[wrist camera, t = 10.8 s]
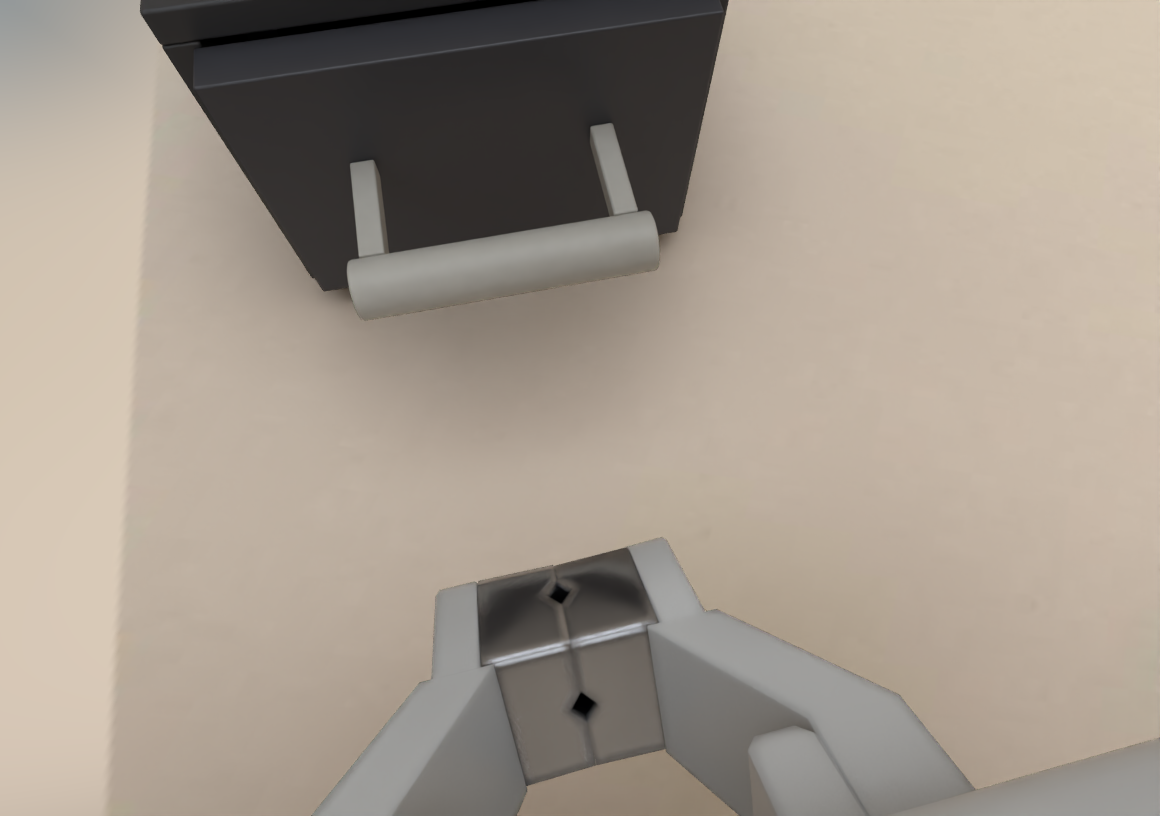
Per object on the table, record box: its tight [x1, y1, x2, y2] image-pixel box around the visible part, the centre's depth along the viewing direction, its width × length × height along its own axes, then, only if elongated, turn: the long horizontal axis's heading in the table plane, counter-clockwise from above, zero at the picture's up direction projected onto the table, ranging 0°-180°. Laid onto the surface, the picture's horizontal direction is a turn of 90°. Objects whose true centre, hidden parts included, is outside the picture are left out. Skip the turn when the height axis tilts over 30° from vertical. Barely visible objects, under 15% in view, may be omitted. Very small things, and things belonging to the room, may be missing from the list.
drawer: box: [193, 0, 724, 321], centre depth 20 cm, size 18×11×8 cm, turn 12°
